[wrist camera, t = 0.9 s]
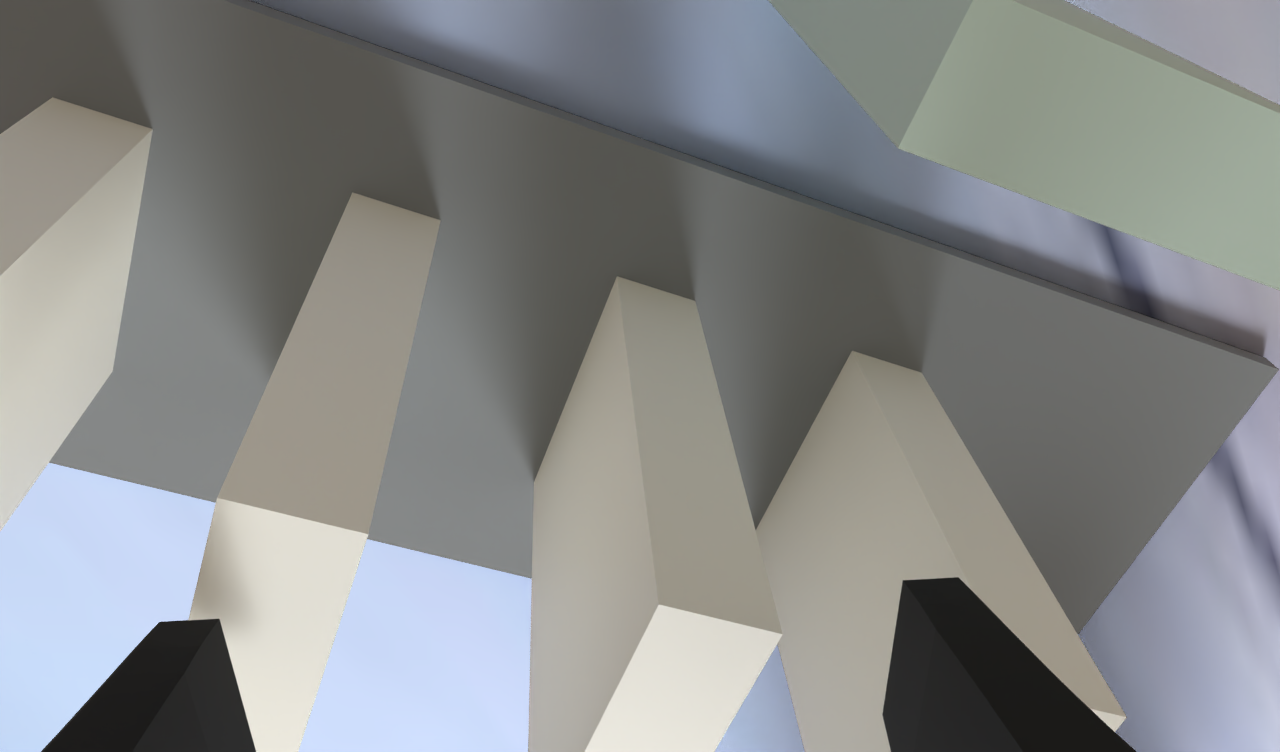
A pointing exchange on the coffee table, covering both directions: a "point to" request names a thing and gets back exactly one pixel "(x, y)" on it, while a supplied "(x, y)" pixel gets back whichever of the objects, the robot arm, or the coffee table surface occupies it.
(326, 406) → the domino
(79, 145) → the domino
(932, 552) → the domino
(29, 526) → the coffee table surface
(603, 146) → the mat
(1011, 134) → the sage domino
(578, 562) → the domino
